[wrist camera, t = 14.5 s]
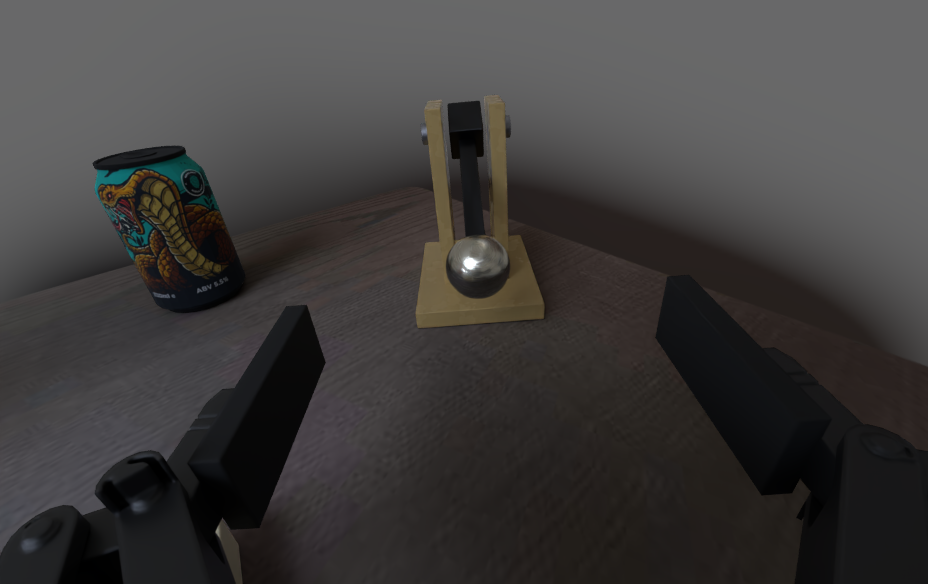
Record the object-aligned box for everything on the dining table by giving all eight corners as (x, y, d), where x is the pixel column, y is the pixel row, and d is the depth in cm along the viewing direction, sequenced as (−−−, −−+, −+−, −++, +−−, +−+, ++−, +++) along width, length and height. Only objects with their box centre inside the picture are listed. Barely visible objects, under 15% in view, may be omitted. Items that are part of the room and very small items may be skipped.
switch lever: (512, 307, 24) (515, 275, 21) (449, 312, 24) (443, 281, 21) (490, 134, 31) (490, 91, 28) (441, 139, 31) (435, 96, 28)
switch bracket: (544, 319, 29) (549, 108, 22) (417, 329, 30) (383, 122, 23) (520, 247, 40) (519, 87, 33) (426, 254, 40) (405, 97, 33)
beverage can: (174, 327, 32) (90, 172, 26) (149, 299, 37) (72, 160, 30) (261, 288, 37) (207, 148, 30) (230, 267, 41) (177, 140, 35)
